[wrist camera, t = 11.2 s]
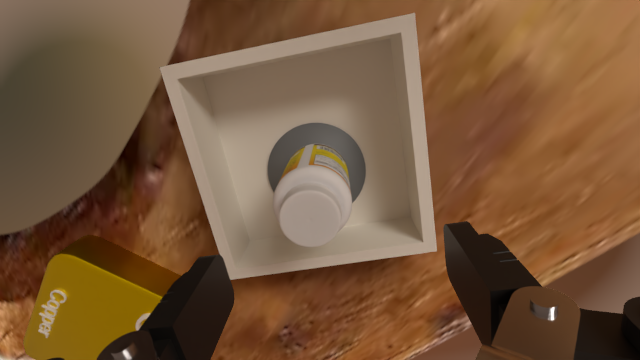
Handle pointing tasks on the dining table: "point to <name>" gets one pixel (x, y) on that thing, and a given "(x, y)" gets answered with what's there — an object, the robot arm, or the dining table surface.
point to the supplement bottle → (313, 196)
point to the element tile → (92, 299)
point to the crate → (310, 142)
